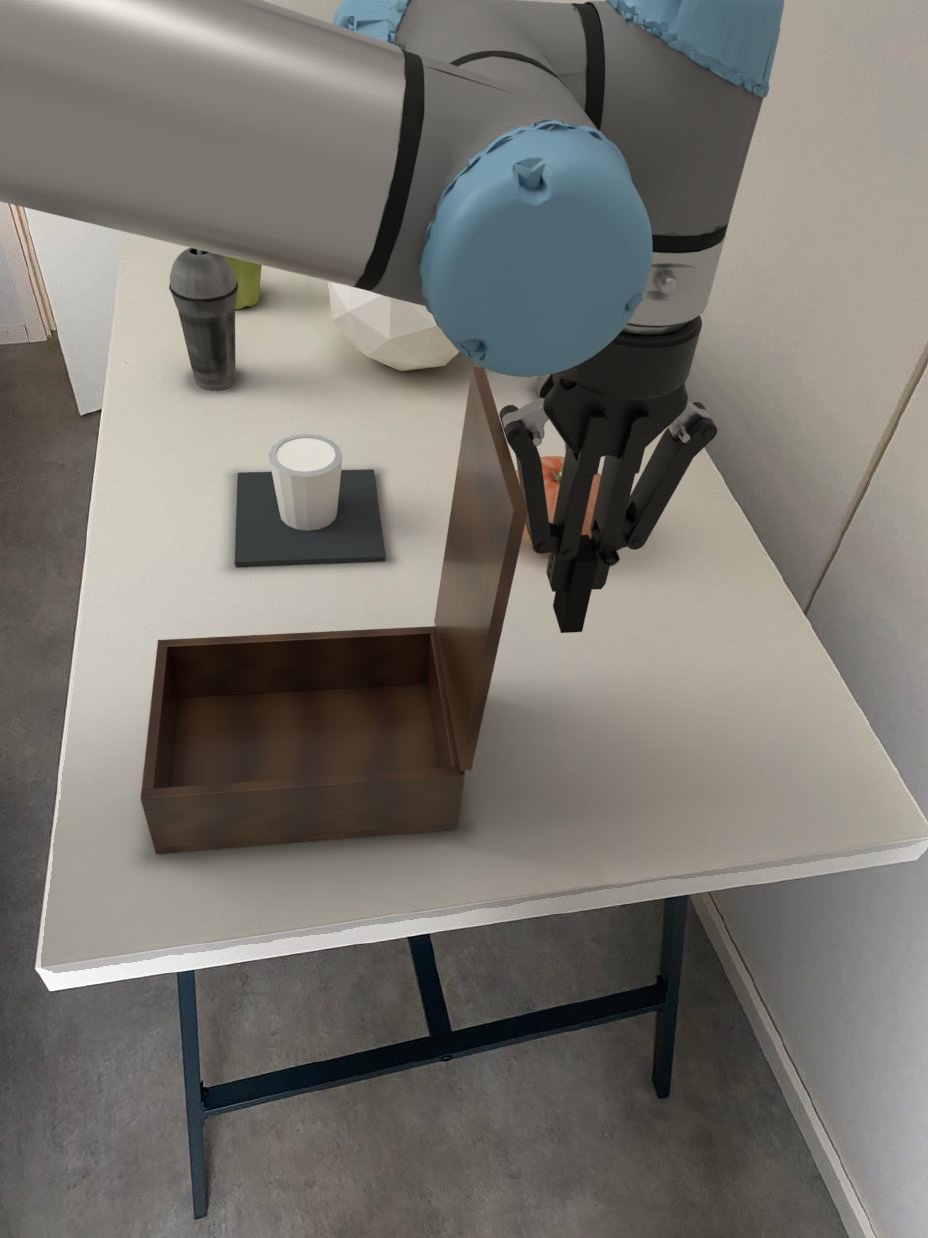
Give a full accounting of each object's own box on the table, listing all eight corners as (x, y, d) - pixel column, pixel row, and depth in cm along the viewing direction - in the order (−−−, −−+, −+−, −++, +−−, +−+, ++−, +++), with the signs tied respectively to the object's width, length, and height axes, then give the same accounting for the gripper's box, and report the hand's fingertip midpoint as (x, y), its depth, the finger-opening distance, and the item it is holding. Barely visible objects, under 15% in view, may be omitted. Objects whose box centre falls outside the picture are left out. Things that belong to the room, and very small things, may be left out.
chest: (155, 855, 68) (140, 799, 63) (170, 697, 78) (157, 639, 73) (458, 830, 71) (465, 775, 67) (434, 682, 81) (438, 625, 77)
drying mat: (235, 566, 90) (234, 562, 89) (238, 476, 100) (237, 472, 99) (385, 561, 92) (385, 556, 92) (373, 473, 102) (373, 468, 101)
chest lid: (513, 511, 51) (528, 511, 51) (471, 366, 61) (484, 367, 61) (460, 771, 66) (471, 770, 66) (434, 621, 76) (444, 621, 76)
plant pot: (280, 287, 130) (276, 223, 124) (262, 320, 123) (257, 254, 117) (211, 279, 130) (204, 214, 124) (190, 311, 123) (181, 245, 117)
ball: (434, 390, 127) (534, 267, 120) (402, 419, 109) (518, 276, 101) (321, 291, 125) (416, 159, 117) (270, 304, 106) (378, 148, 99)
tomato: (477, 520, 97) (484, 455, 92) (561, 490, 102) (573, 426, 97) (541, 584, 91) (552, 518, 86) (627, 548, 96) (644, 483, 90)
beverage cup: (184, 398, 109) (158, 222, 95) (181, 365, 114) (156, 193, 100) (249, 394, 111) (233, 220, 97) (244, 361, 116) (227, 191, 102)
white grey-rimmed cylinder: (261, 524, 94) (255, 465, 89) (290, 485, 98) (287, 426, 93) (327, 541, 92) (325, 482, 88) (353, 500, 97) (353, 442, 92)
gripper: (527, 337, 47) (484, 663, 64) (775, 337, 49) (671, 652, 66) (501, 269, 53) (467, 586, 69) (726, 271, 55) (641, 579, 71)
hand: (567, 618), depth 68 cm, fingers closed
